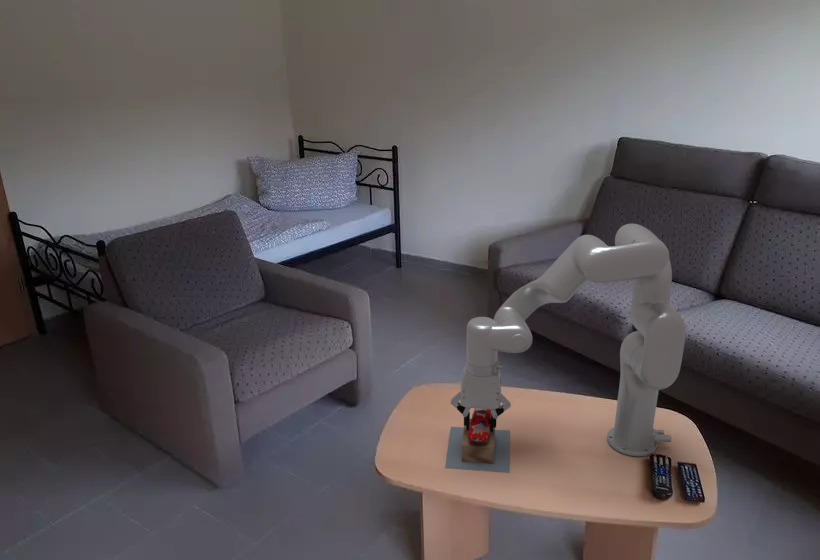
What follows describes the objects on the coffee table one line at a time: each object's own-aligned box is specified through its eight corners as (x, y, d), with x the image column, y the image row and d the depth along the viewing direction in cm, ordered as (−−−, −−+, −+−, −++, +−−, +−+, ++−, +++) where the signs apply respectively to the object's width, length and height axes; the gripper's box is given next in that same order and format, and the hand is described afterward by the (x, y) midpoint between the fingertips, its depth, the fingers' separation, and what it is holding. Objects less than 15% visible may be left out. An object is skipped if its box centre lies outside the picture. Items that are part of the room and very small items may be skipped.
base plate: (509, 434, 182) (509, 430, 181) (509, 476, 165) (509, 472, 165) (450, 430, 184) (450, 426, 183) (444, 471, 167) (444, 467, 167)
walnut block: (494, 435, 179) (495, 420, 177) (493, 464, 168) (494, 447, 166) (464, 433, 180) (465, 418, 178) (461, 461, 169) (462, 445, 167)
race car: (487, 446, 165) (488, 433, 164) (466, 444, 167) (466, 430, 165) (494, 417, 177) (494, 404, 176) (473, 414, 178) (474, 401, 177)
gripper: (516, 360, 167) (513, 422, 174) (448, 357, 170) (447, 418, 176) (516, 375, 160) (513, 439, 167) (445, 372, 163) (445, 434, 169)
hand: (479, 427), depth 172 cm, fingers closed on race car, 5 cm apart
